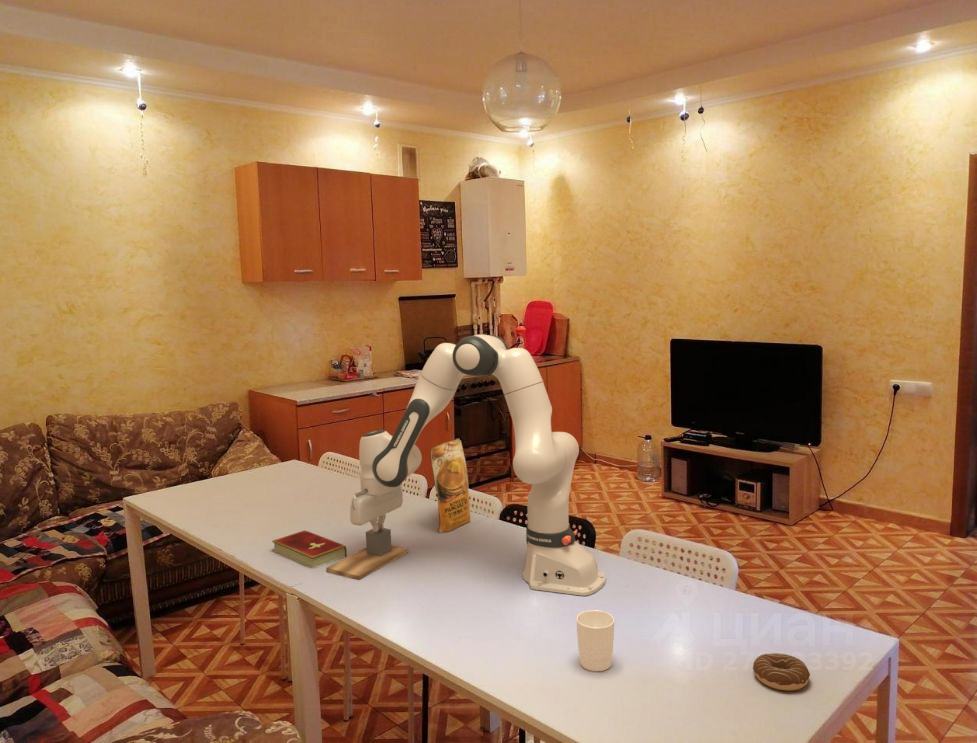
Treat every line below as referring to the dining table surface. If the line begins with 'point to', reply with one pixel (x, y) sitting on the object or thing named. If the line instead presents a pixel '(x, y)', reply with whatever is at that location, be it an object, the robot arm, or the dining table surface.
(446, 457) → the pancake mix bag
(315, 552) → the hardcover book
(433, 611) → the dining table surface
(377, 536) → the gray rectangular block
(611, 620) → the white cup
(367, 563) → the board
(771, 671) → the donut
